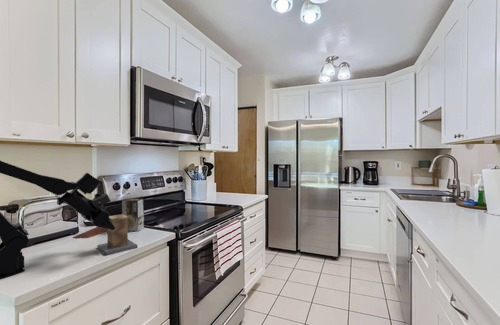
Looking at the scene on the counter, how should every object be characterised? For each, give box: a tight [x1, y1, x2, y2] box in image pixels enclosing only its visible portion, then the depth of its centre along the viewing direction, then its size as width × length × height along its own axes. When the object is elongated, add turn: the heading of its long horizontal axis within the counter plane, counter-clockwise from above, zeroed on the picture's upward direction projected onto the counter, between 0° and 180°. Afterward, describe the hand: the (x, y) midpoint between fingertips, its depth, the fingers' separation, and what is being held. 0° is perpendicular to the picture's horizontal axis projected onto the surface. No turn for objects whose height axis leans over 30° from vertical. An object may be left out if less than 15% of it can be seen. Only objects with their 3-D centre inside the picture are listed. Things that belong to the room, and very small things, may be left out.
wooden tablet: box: [72, 226, 107, 239], centre depth 132 cm, size 27×10×2 cm, turn 172°
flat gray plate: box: [97, 239, 138, 256], centre depth 107 cm, size 12×12×3 cm
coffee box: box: [121, 198, 145, 232], centre depth 135 cm, size 9×6×16 cm
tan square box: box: [106, 213, 129, 249], centre depth 107 cm, size 6×6×12 cm
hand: (110, 226), depth 105 cm, fingers open, 9 cm apart
